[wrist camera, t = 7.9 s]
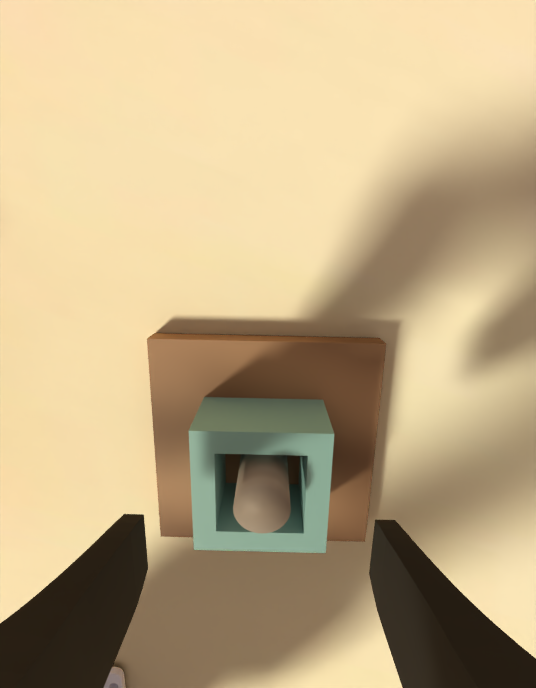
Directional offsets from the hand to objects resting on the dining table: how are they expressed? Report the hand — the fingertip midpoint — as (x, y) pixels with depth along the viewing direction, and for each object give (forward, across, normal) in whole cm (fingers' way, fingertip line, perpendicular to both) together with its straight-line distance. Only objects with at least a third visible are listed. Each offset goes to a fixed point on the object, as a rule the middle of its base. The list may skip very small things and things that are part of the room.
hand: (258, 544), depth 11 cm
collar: (+5, 0, 0) cm, 5 cm away
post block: (+6, 0, 0) cm, 6 cm away
